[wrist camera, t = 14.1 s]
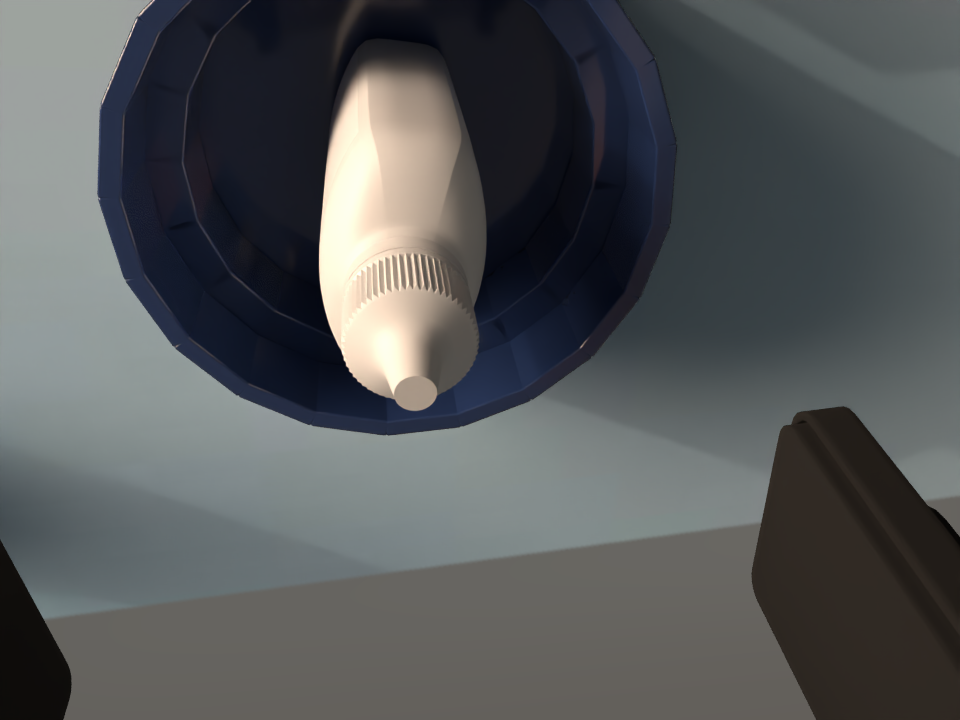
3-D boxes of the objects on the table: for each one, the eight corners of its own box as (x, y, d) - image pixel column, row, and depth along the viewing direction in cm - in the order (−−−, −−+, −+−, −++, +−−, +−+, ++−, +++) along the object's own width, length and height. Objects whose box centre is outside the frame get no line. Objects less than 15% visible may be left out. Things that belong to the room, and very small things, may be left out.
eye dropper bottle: (270, 176, 24) (206, 452, 14) (382, 3, 22) (402, 183, 12) (399, 255, 26) (424, 549, 16) (514, 103, 23) (629, 332, 13)
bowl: (84, -112, 20) (4, -83, 15) (626, -149, 21) (700, -133, 16) (211, 349, 27) (182, 459, 23) (608, 306, 28) (656, 405, 24)
